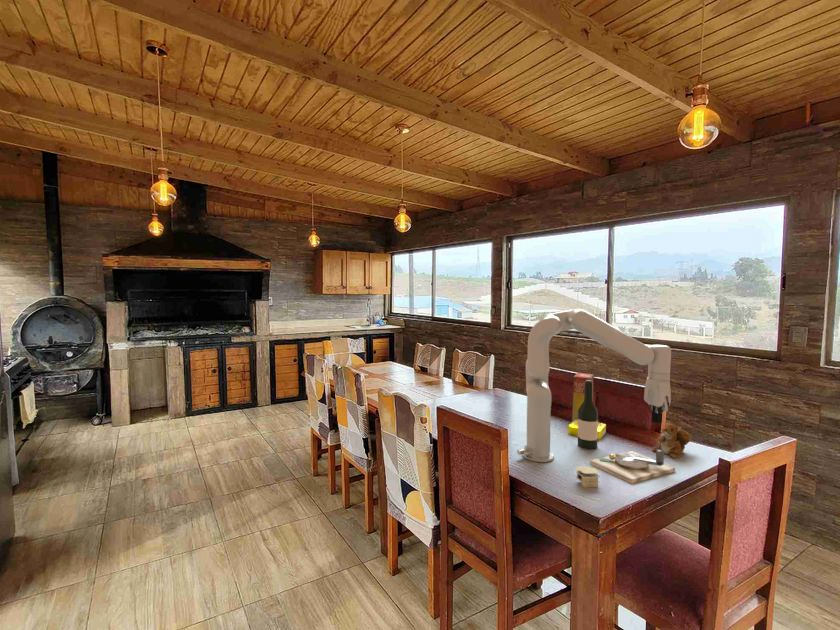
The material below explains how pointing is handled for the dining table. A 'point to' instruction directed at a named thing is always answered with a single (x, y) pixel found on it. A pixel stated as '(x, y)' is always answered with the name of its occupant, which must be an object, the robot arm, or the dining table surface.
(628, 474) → the stand board
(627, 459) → the silver rounded piece
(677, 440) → the stuffed squirrel
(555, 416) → the dining table surface
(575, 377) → the food packaging
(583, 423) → the wine bottle
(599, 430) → the element tile
